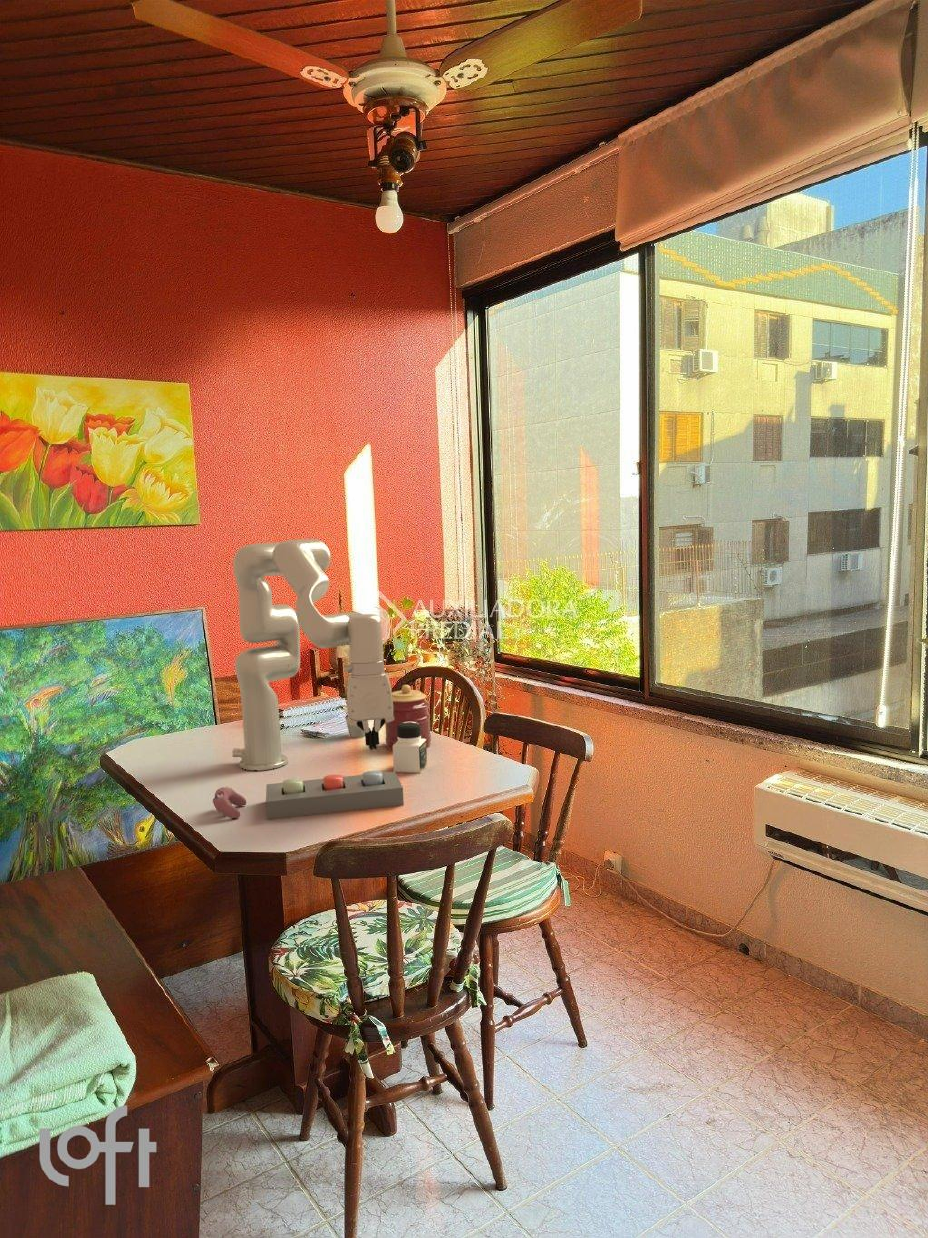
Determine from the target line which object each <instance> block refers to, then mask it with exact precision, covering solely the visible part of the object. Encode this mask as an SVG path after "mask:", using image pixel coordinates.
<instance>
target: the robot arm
mask: <svg viewBox="0 0 928 1238" xmlns="http://www.w3.org/2000/svg"><path fill="white" fill-rule="evenodd" d="M331 556H332V555H331V552H330V549H329V547H328V546H327V544H325V543H324V542H323V541H322V540H320V539H316V538H305V539H304V538H303V539H302V538H301V539H291V540H290V539H289V540H285V541H284V540H283V541H281V542H261V543H260V542H259V543H252V544H246V545H244V546H241V547H240V548H238V549H237V551H236V552H235V554H234V557H233V563H232V564H233V565H232V569H233V575H234V579H235V582H236V588H237V592H238V614H239V616H238V617H239V632H240V636H241V638H242V639H243V641H244V642H245V643H248V644H249V643H250V644H259V643H269V642H274V641H275V644H271V645H264V646H257V647H251V648H248V649H244V650H243V651H241V652H240V653H239V654H237V656H236V658H235V661H234V670H235V674H236V677H237V682H238V687H239V691H240V700H241V703H240V704H241V713H242V728H243V731H242V732H243V743H244V744H243V745H244V748H239V747H238V748H233V749H232V757H233V758H241V760H240V761H239V767H240V769H242V768H243V769H242V770H245V769H246V771H254V770H257V771H267V770H273V768H274V769H277V768H282V767H283V766H286V764H287V763H288V761H289V758H288V756H287V755H285V754H282V740H281V739H282V738H281V737H282V736H281V727H280V726H281V724H280V723H281V722H280V710H279V709H280V707H279V699H278V698H279V697H278V695H277V694H276V692H275V690H274V689H273V688H272V687H271V685H270V682H271V683H272V682H275V681H281V680H285V679H290V678H293V677H295V676H296V675H297V673H298V672H299V670H300V668H301V667H300V666H301V635H300V634H301V633H300V631H302V632H303V634H304V635H305V636H306V638H307V639H308V640H309V641H310V642H311V643H312V645H314V646H316V647H317V648H319V649H330V648H337V647H343V646H349V660H350V661H349V664H347V665H344V666H343V670H344V672H345V673H347V672H348V673H350V675H348V678H347V687H348V688H347V689H346V695H347V699H346V702H347V703H346V704H347V705H346V706H347V707H346V708H347V715H348V720H347V722H346V724H347V723H348V725H353V726H358V727H360V728H361V729H362V730H363V731H364V732H365V737H364V739H365V742H364V743H365V746H366V747H367V746H368V748H369V751H372V750H373V749H374V750H377V749H378V747H377V746H379V745H380V733H379V732H380V730H381V729H382V728H383V727H384V725H385V723H388V722H391V721H393V720H394V715H393V700H392V693H393V691H392V685H391V680H390V677H389V673H387V672H385V661H384V659H385V658H384V647H383V645H384V644H383V632H382V630H383V629H382V620H381V617H380V616H379V615H378V614H375V613H373V614H372V613H360V612H357V611H349V612H339V613H332V614H325V615H322V614H321V613H320V612H319V610H318V609H317V608H316V606H315V605H314V604H315V603H316V602H318V601H319V600H321V599H322V598H323V596H325V595H326V594H327V592H329V591H328V590H329V589H330V585H331V583H330V579H329V577H328V575H326V573H325V572H324V571H326V570H327V569H328V568H329V567H330V564H331V559H332V558H331ZM274 576H275V577H276V576H282V577H283V578H284V580H285V581H286V582H287V583H288V584H289V587H290V588H291V589H292V590H293V592H294V593H295V595H296V596H297V598H296V602H295V609H294V608H293V607H292V606H291V605H288V604H285V603H284V604H283V603H282V604H280V603H279V604H273V593H272V588H271V585H270V584H269V582H268V580H267V579H266V578H265V577H274ZM367 720H368V721H367ZM372 720H373V727H372V728H371V727H369V721H372ZM282 765H283V766H282Z"/></svg>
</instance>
